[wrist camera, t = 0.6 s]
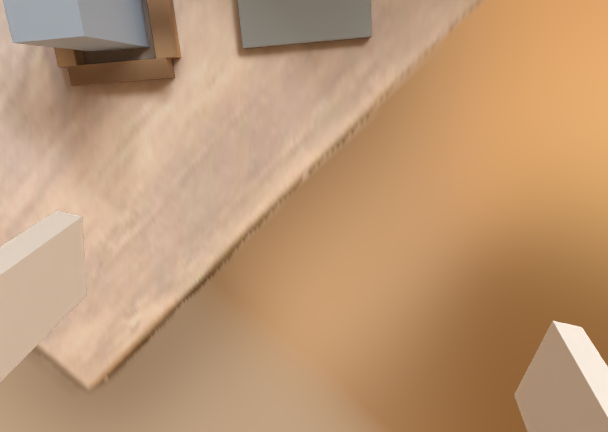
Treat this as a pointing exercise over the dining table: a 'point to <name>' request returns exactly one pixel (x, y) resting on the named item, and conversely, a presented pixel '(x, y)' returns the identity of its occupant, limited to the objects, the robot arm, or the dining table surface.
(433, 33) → the dining table surface
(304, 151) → the dining table surface
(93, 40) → the dusty blue painted block
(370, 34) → the grey rubber mat
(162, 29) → the walnut pocket frame
